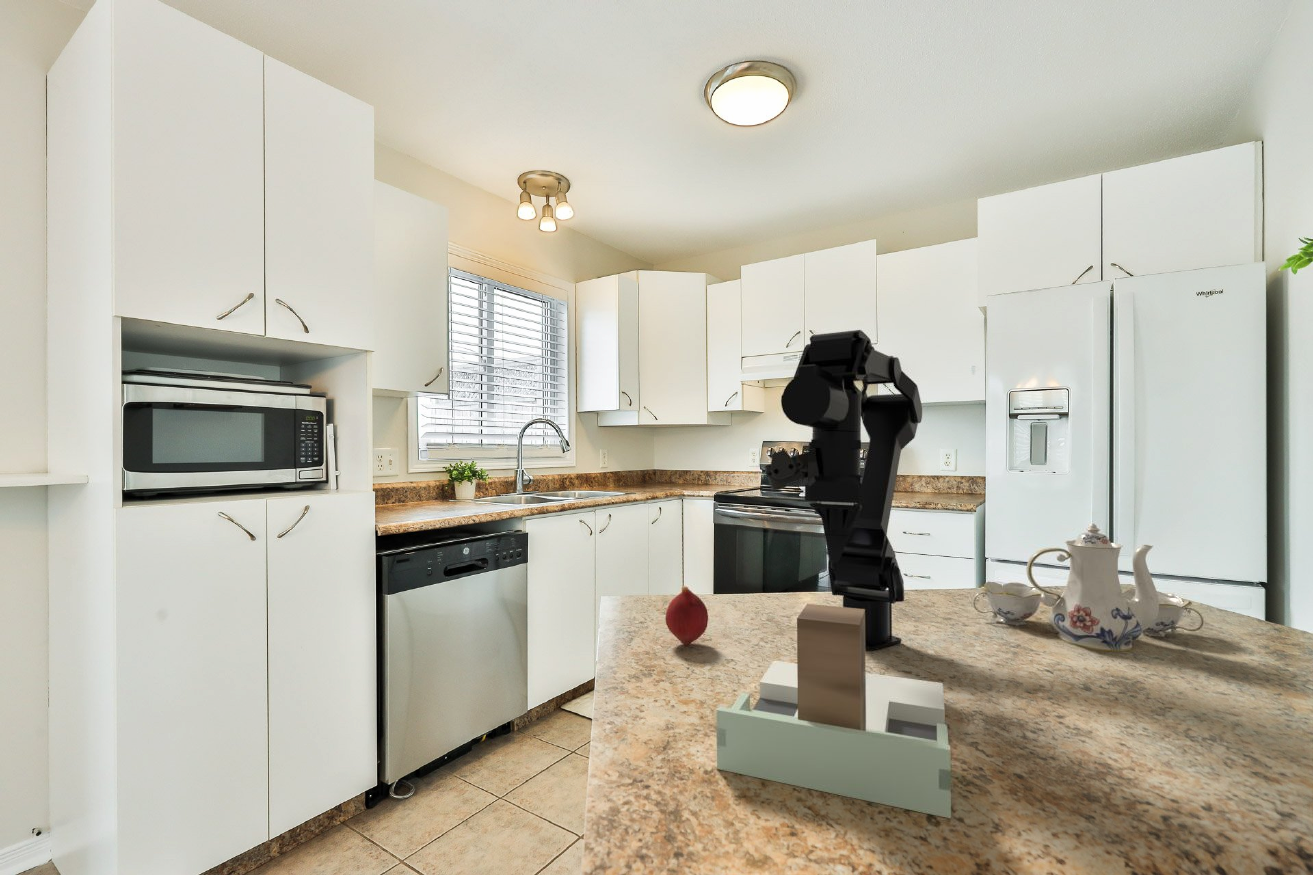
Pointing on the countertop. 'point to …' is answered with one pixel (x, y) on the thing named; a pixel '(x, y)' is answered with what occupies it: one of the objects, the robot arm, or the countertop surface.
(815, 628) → the walnut block
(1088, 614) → the chinaware
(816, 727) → the box
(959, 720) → the countertop surface
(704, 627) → the onion
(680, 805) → the countertop surface
